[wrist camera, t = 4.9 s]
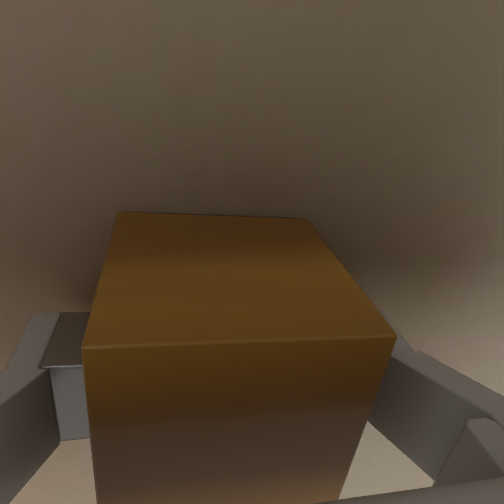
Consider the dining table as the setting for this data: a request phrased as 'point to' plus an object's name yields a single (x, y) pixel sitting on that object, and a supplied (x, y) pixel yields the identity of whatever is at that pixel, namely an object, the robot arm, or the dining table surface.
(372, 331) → the block
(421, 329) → the dining table surface
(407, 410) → the robot arm
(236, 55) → the dining table surface
